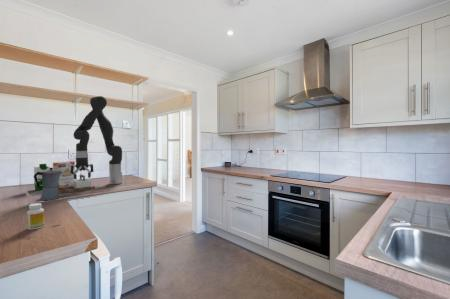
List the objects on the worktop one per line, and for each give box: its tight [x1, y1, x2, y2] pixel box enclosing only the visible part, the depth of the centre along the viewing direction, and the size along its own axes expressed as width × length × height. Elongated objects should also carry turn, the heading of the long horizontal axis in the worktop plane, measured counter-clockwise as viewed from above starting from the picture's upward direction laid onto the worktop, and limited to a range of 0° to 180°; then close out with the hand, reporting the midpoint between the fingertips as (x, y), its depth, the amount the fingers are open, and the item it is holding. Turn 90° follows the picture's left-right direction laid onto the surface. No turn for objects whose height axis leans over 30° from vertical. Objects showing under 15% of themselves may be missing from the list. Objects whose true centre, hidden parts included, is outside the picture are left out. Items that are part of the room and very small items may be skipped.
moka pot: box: [33, 167, 62, 201], centre depth 134 cm, size 10×15×20 cm, turn 161°
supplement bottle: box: [26, 202, 45, 231], centre depth 90 cm, size 5×5×10 cm
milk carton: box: [33, 163, 51, 191], centre depth 161 cm, size 9×9×20 cm
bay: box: [57, 182, 96, 195], centre depth 158 cm, size 23×13×9 cm, turn 136°
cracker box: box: [52, 160, 76, 188], centre depth 168 cm, size 14×6×21 cm, turn 168°
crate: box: [74, 174, 92, 189], centre depth 161 cm, size 9×10×10 cm
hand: (82, 178), depth 161 cm, fingers open, 8 cm apart
